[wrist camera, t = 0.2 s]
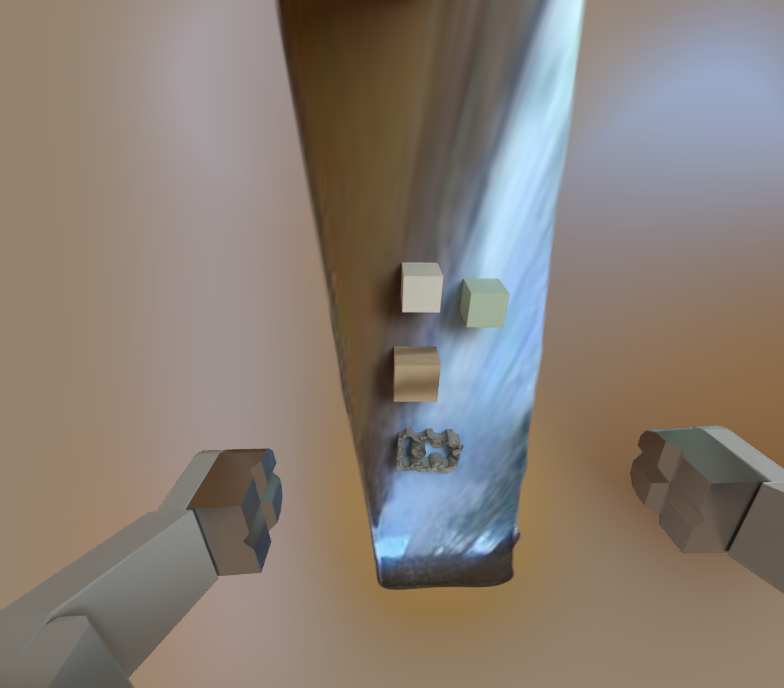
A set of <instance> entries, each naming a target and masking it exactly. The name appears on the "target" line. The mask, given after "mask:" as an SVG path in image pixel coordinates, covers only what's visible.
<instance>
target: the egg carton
mask: <svg viewBox="0 0 784 688" xmlns="http://www.w3.org/2000/svg"><path fill="white" fill-rule="evenodd" d="M406 437H412V441H411V454H410V455H409V456H403V455H405V454H406V452H405V440H406ZM427 438H430V439H431V440H432V441H431V446H432V447H434V448H440V447H442V446H444V445H448V446H450V447H451V450H452V453H451V454H450V455H449V456H448V457H442V455H441V454H440V453H437V452H434V453H431V454H430V455H429V457H424V456H425V455H426V451H425V443H424V440H426V439H427ZM462 448H463V445H462V446H461V443H460V438H459V434H456V433H454V432H453V429H446V431H444V432H443V433H435V432H434V431H433V429H432V428H430V429H426V430H425V431H424V432H421V433H416V432H414V431H413V429H412V428H406V429H405V430H404V431H403V432H399V433H398V447H397V461H396V467H397V471H398V472H399V471H405V470H409V469H410V470H413V471H414V470H417V471H419V472H423V471H427V472H433V471H434V472H439V473H444V474H446V473H450V472H452V471H453V470H455V469H456V468H457V465H458V461H459V458H460V452H461V451H462Z"/></svg>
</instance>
